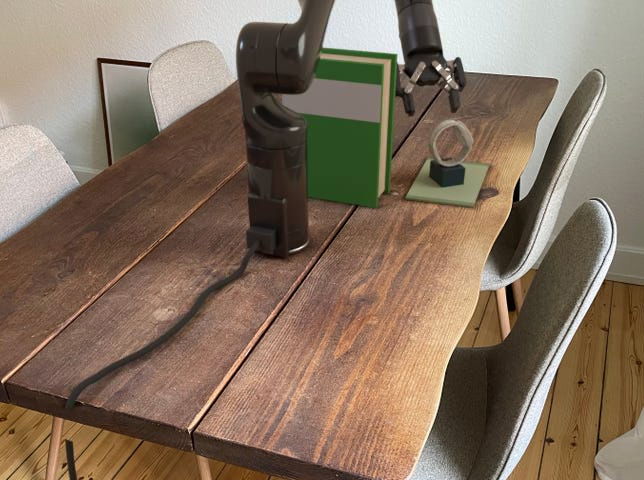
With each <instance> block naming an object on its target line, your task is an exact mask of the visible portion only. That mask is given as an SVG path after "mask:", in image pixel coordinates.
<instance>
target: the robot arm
mask: <svg viewBox="0 0 644 480" xmlns="http://www.w3.org/2000/svg"><path fill="white" fill-rule="evenodd" d="M297 2H298V5H299V7H300V11H301V13H300V16H299V17H298V19H297V20H296V21H295V22H292V23H289V22H271V21H270V22H266V21H251V22H247V23H245V24H244V25H243V26H242V27H241V28H240V30H239V32H238V36H237V40H236V45H235V47H236V48H235V67H236V77H237V86H238V94H239V102H240V112H241V122H242V126H243V129H244V136H245V149H246V151H245V152H246V167H247V168H246V169H247V182H248V183H247V184H248V185H247V186H248V196H247V208H248V224H249V227H248V228H247V229H246V231H245V236H246V237H245V238H246V249H248V250H247V252H246V253H245V254H244V256H243V258H242V262H241V264H240V266H239V267H238V268H237V270H235V271H234V272H233V273H232V274H230V275H229V276H227V277H226V278H223V279H221V280H219V281H217V282H214V283H213V284H212V285H210V286H209V287H207V288H206V289H205V290H204V291H203V292H202V293H200V295H199V296H198V298H197V299H196V301H195V302H194V304H193V305H192V307H191V309H190V310H188V312H187V313H186V314H185V315H184V316H183V317H182V318H181V319H180V320H179V321H178V322H177V323H175V325H173V326H172V327H171V328H170V329H168V330H167V331H166V332H165V333H164V334H162V335H161V336H159V337H157V339H155V340H153V341H152V342H150V343H149V344H147V345H145V346H144V347H142V348H141V349H139V350H137V351H135V352H133V353H130V354H129V355H127V356H124V357H122V358H120V359H118V360H116V361H114V362H113V363H111V364H108V365H107V366H105V367H103V368H102V369H101V370H99V371H98V372H96V373H94V374H93V375H91V376H89V377H87V378H85V379H82V381H80V382H79V383H78V384H76V386H75V387H74V388H73V390H72V391H71V392H70V394H69V396H68V398H67V400H66V402H65V405H64V410H65V411H69V410H70V411H71V410H72V409H73V408H74V406H75V403H76V401H77V399H78V398H79V396H80V395H81V393H82V392H83V391H84V390H85V389H87V388H88V387H89V386H91V385H93V384H95V383H97V381H100V380H101V379H103V378H104V377H106V376H107V375H109V374H111V373H113V372H114V371H116V370H118V369H119V368H121V367H124V366H125V365H127V364H130V363H132V362H134V361H136V360H138V359H140V358H142V357H144V356H146V355H147V354H149V353H151V352H152V351H154V350H155V349H157V348H158V347H160V346H161V345H163V344H164V343H165V342H167V341H168V340H170V339H171V338H172V337H174V336H175V335H176V334H177V333H179V331H180V330H182V328H184V327H185V326H186V325H187V324H188V323H189V322H190V321H191V320H192V319H193V317H195V315H196V314H197V312H199V310H200V308H201V307H202V305H203V303H205V301H206V300H207V299H208V297H209V296H210V295H211V294H212V293H214V292H215V291H216V290H218V289H220V288H222V287H224V286H227V285H228V284H230V283H232V282H234V281H235V280H237V279H239V277H241V275H242V274H243V273H244V272H245V271H246V269H247V267H248V266H249V265H248V264H249V262H250V259H251V258H252V257H253V255H254V253H257V254H262V255H267V256H273V257H277V258H283V259H286V258H287V257H289V256H290V255H294V254H297V253H300V252H302V251H303V250H305V249H306V248H308V246H309V245H310V232H309V228H310V225H309V224H310V223H309V197H308V138H307V122H306V120H305V118H304V117H303V116H302V115H301V114H299V113H297V112H295V111H293V110H291V109H289V108H287V107H286V106H284V105H283V104H282V102H281V101H279V99H278V98H276V97H275V95H282V94H286V95H299V94H303V93H305V92H306V91H307V90H308V89H309V88H310V86H311V84H312V82H313V80H314V77H315V75H316V72H317V68H318V64H319V60H320V56H321V52H322V48H324V44H325V39H326V35H327V30H328V27H329V23H330V18H331V16H332V12H333V10H334V9H333V8H334V6H335V3H336V0H297ZM393 2H394V5H395V6H394V7H395V10H396V17H397V27H398V28H397V29H398V38H399V41H400V46H401V52H402V57H403V62H404V64H403V63H402V64H399V62H397V71H396V90H395V98H397V97H399V98H401V99H402V103H403V108H404V113H405V114H406V115H408V117H409V118H410V117H414V115H415V113H416V108H415V102H414V97H413V93H411V92H412V91H413V89H414V87H415V86H416V85H417V86H418V87H419V88H420V87H421V88H422V87H425V86H430V87H432V86H436V85H437V87H439V88H440V89H441V90H444V91H445V92H446V93H447V94H448V96H447V97H448V103H449V108H450V112H451V114H456V113H457V111H458V110H459V108H460V107H461V99H460V93H461V92H463V91H464V89H465V87H466V86H467V85H468V82H467V81H468V80H467V76H466V73H465V70H464V66H463V65H464V64H463V61H462V59H461V57H460V56H456V57H454V59H451V60H447V59H446V58H445V57H444V49H443V44H442V38H441V33H440V28H439V23H438V18H437V15H436V12H435V10H434V9H435V8H434V3H433V0H393ZM447 69H448V70H449V72H450V73H451V74H452V75H451V74H450V73H448V71H447ZM403 73H404V74H405V75H406V76H407V78H409V80H408V83H407V84H406V86H405V87H402V84H401V76H402V74H403ZM452 76H453V79H452ZM64 443H65V456H66V462H67V471H68V478H69V480H78V477H77V476H78V475H77V470H76V469H77V468H76V461H75V449H74V441H73V440H70V439H66V438H64Z"/></svg>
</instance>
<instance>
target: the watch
mask: <svg viewBox="0 0 644 480" xmlns="http://www.w3.org/2000/svg"><path fill="white" fill-rule="evenodd" d="M449 127H451V128H452V132H453V134H454V136H455V138H456V139H457V140H458V142H459V144H460V146H461V149H460V150H459V152H458V153H457V154H456V156H455V157H446V158H442V157H440V155H439V151H438V147H437V142H436V141H437V139H438V136H439V135H440V134H441V133H442V132H443V131H444V130H445V129H447V128H449ZM474 142H475V141H474V137H473V135H472V133H471V132H470V130H469V129H468V127H467V126H466V125H465V124H464V122H462V121H461V120H457V121H456V120H454V119H445V120H442V121H440V122H439V123H438V124H436V126H434V128H433V129H432V130H431V132H430V134H429V136H428V142H427V147H428V152H429V154H430V155H431V158H433V159H434V160H431V161H430V171H429V177H430V178H431V179H432V180H434V181H435V182H436V183H437V184H438V185H440V186H441V187H442V188H444V187H450V186H457V185H463V184H464V177H465V167H463V166H462V165H461V164H459V163H461V162H462V161H465V160H466V159H467V157H468V156H469V154H470V152H471V151H472V148H473V144H474Z"/></svg>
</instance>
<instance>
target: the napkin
mask: <svg viewBox="0 0 644 480" xmlns="http://www.w3.org/2000/svg"><path fill="white" fill-rule="evenodd" d="M431 160H434V159H433V157H427V158H426V160H425V162H424V163H423V165H422V167H421V169H420V170H419V172H418V174H417V176H416V177H415V178H414V179H415V180H414V181H413V183H412V184H411V187H410V188H409V190H408V191H407V194H406V196H405V197H404V200H405V201H406V200H407V201H415V202H424V203H431V204H440V205H447V206H448V205H449V206H455V207H456V206H457V207H464V208H474V206H475V203H476V201H477V198H478V196H479V194H480V190H481V188H482V185H483V182H484V180H485V178H486V175H487V172H488V170H489V167H490V163H486V162H475V161H466V160H463V161H462V162H461V163H459V164H461V165H462V166H463V167H465V177H464V184H463V185H457V186H450V187H444V188H442V187H441V186H440V185H438V184H437V183H436V182H435V181H434V180H432V179H431V178H430V177H429V171H430V161H431Z"/></svg>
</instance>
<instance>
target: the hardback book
mask: <svg viewBox="0 0 644 480" xmlns="http://www.w3.org/2000/svg"><path fill="white" fill-rule="evenodd" d="M397 63H398V53H390V52H379V51H370V50H369V51H367V50H355V49H345V48H333V47H323V48H322V52H321V56H320V60H319V64H318V68H317V72H316V75H315V77H314V80H313V82H312V84H311V86H310V88H309V89H308V90H307V91H306V92H305V93H303V94H299V95H286V94H281V103H282V104H283V105H284V106H286V107H287V108H289V109H291V110H293V111H295V112H297V113H299V114H301V115H302V116H303V117H304V118H305V120H306V122H307V138H308V198H314V199H319V200H325V201H332V202H337V203H338V202H339V203H343V204H348V205H349V204H350V205H357V206H362V207H367V208H373V209H376V208H378V207H379V197H380V196H381V195H382V194H388V195H389V194H390V192H391V179H392V160H393V144H394V143H393V142H394V141H393V140H394V124H395V123H394V122H395V107H396V106H395V105H396V97H395V90H396V71H397Z"/></svg>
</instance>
